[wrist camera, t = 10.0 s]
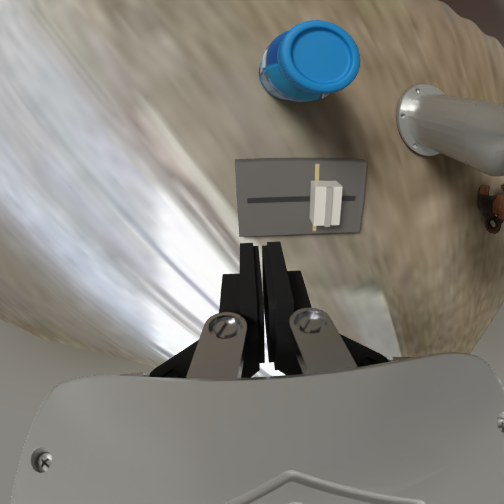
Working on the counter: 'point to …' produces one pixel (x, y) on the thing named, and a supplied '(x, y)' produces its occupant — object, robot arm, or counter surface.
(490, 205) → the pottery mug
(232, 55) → the counter surface
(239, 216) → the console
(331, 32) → the blue lidded canister
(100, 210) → the counter surface
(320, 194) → the fader knob
